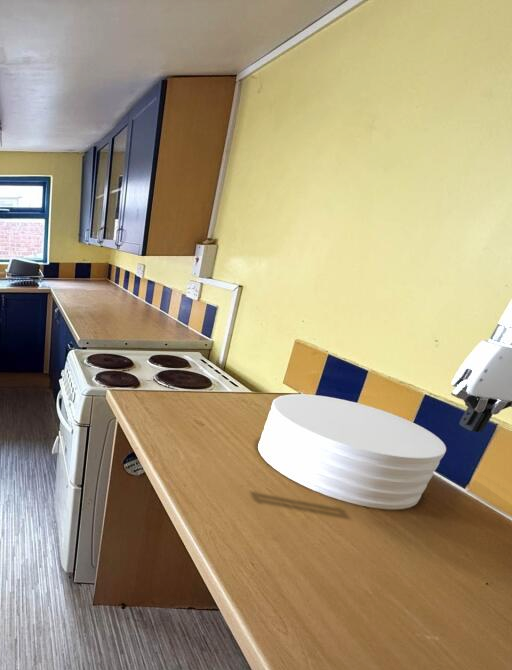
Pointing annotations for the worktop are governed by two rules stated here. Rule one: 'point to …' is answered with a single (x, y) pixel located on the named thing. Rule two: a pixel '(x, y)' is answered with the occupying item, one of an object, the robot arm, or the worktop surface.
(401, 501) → the plate stack
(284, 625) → the worktop surface
